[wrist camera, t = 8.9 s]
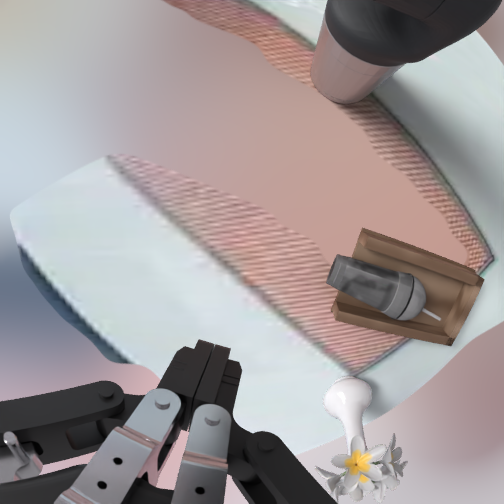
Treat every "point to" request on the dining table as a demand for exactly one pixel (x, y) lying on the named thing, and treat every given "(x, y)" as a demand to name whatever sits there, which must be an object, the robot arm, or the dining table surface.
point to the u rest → (432, 278)
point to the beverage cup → (379, 287)
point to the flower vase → (358, 446)
